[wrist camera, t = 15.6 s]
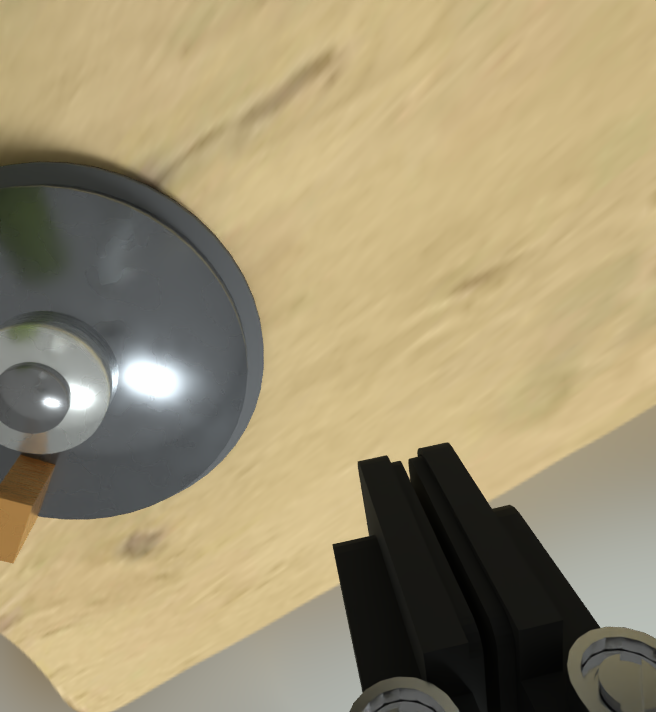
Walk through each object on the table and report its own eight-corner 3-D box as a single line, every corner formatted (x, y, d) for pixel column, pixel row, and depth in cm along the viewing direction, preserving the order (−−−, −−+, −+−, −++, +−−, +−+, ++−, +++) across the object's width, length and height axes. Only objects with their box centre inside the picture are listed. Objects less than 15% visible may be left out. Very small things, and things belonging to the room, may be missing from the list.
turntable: (-80, 114, 27) (-154, 111, 22) (299, 272, 33) (309, 299, 28) (-149, 451, 33) (-220, 509, 28) (182, 537, 38) (172, 599, 33)
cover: (0, 291, 29) (-33, 313, 26) (134, 337, 31) (120, 363, 28) (-29, 404, 31) (-63, 439, 28) (98, 440, 33) (81, 477, 30)
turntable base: (-207, 202, 29) (-226, 205, 28) (218, 128, 30) (216, 128, 29) (-32, 535, 38) (-41, 549, 36) (292, 466, 39) (293, 477, 38)
